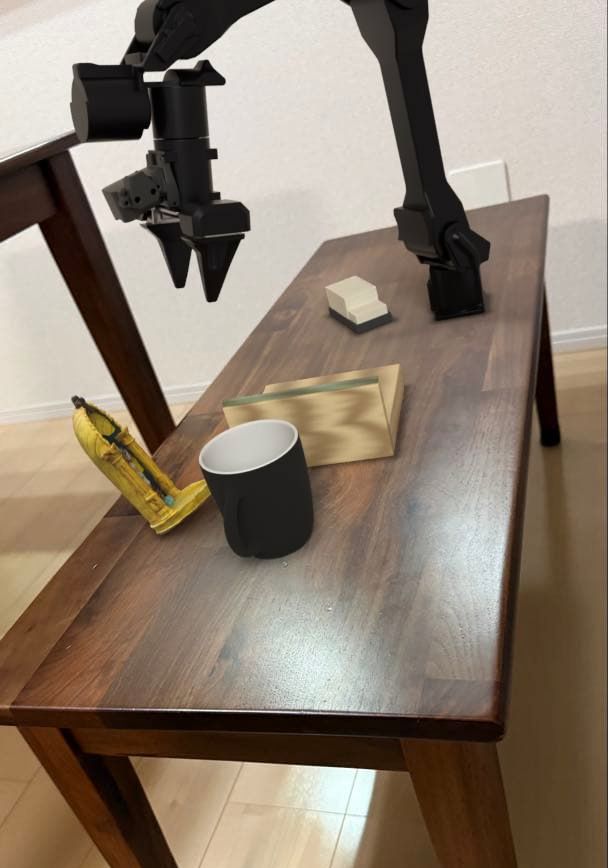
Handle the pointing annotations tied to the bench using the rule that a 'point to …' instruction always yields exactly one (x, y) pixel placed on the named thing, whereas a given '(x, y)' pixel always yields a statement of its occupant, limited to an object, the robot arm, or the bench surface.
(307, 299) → the bench surface
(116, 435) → the shrine
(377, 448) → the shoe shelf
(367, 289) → the cream stepped block
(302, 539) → the mug
